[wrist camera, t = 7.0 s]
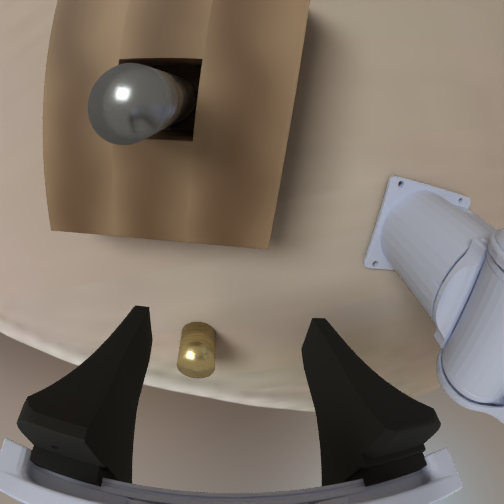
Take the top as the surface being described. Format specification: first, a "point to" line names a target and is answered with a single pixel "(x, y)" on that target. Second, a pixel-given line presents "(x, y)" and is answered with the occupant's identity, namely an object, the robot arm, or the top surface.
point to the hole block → (174, 141)
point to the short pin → (197, 350)
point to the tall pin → (137, 102)
